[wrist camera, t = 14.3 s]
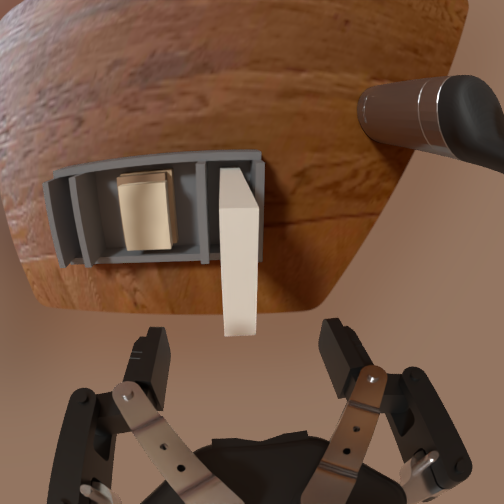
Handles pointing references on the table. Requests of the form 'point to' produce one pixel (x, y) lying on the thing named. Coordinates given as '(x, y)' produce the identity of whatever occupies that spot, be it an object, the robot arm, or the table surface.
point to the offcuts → (148, 209)
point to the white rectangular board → (238, 252)
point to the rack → (109, 217)
